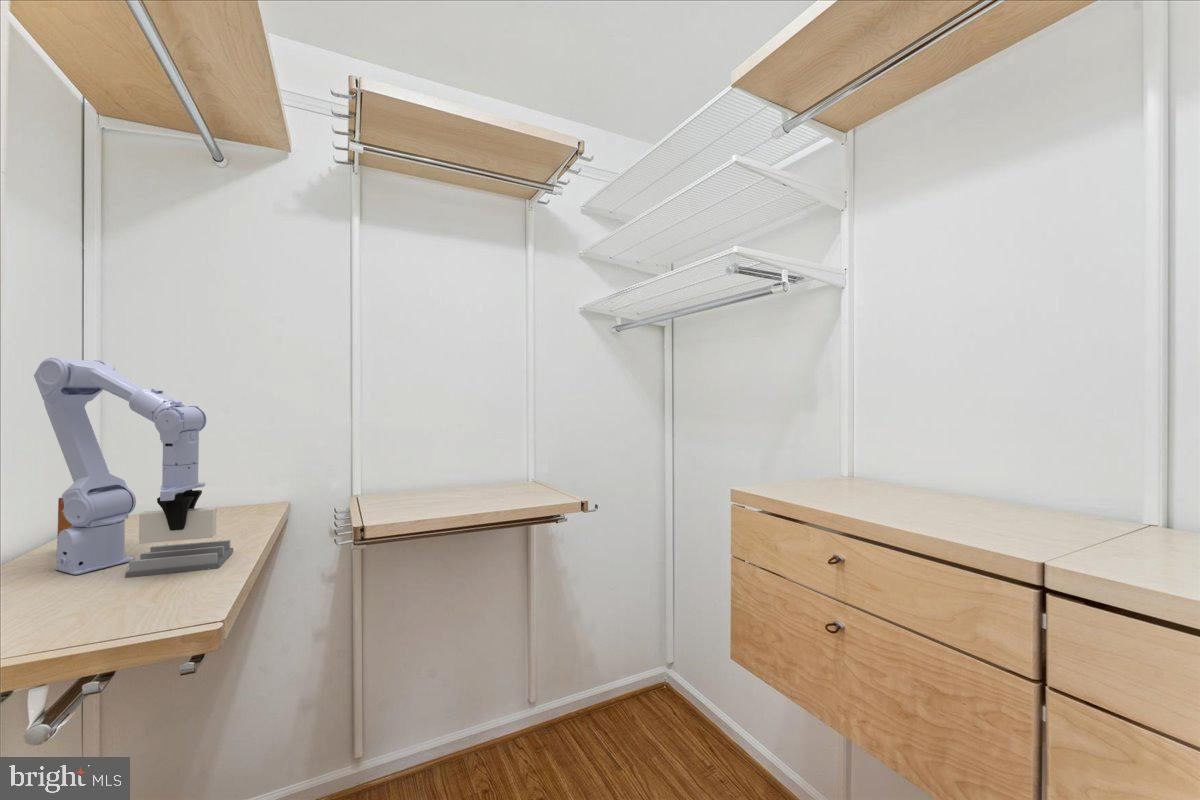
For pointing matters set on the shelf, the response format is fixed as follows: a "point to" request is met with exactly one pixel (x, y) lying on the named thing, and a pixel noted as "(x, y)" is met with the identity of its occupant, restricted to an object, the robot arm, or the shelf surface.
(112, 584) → the shelf surface
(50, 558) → the shelf surface
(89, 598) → the shelf surface
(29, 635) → the shelf surface
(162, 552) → the ridged grey tray
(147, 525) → the long beige block
